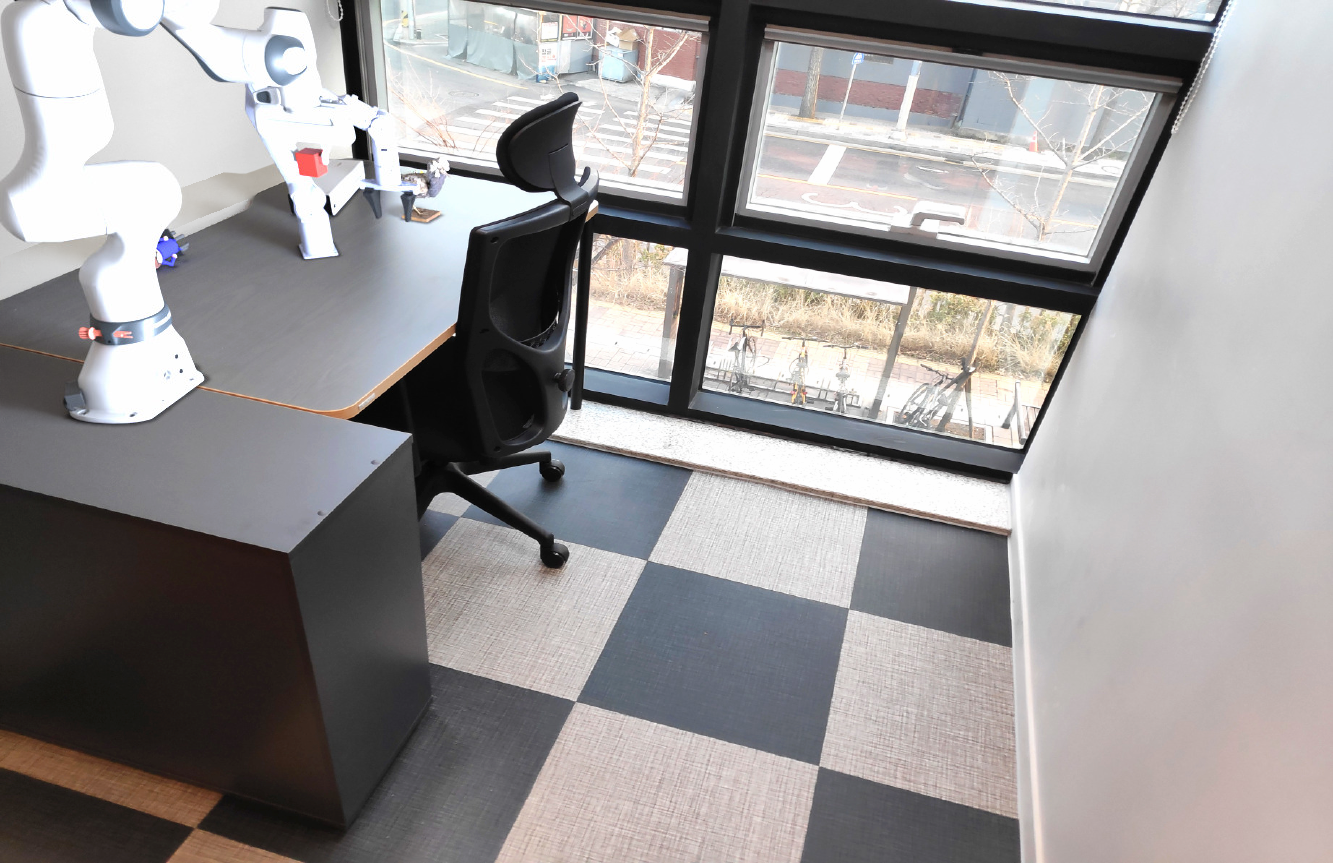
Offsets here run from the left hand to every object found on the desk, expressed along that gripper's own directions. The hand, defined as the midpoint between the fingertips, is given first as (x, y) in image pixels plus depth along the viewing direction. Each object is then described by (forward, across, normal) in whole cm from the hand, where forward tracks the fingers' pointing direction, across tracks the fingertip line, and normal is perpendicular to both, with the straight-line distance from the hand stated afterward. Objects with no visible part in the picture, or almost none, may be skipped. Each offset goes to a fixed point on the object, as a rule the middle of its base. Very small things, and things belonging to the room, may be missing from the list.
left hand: (311, 162), depth 175 cm
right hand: (+20, -6, -24) cm, 31 cm away
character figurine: (+28, +41, +1) cm, 50 cm away
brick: (+2, 0, 0) cm, 2 cm away
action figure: (+28, +7, -73) cm, 78 cm away
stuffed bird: (+28, -3, -48) cm, 56 cm away
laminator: (+28, +27, -57) cm, 69 cm away
